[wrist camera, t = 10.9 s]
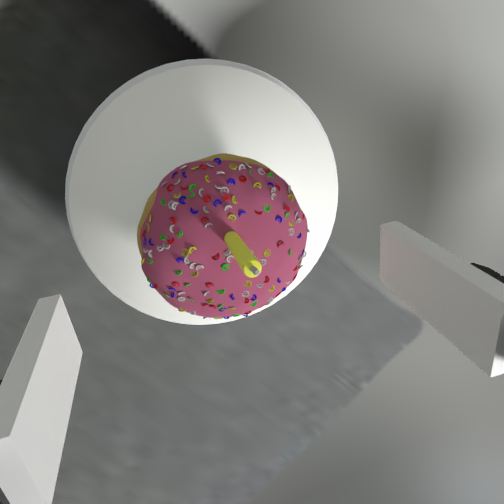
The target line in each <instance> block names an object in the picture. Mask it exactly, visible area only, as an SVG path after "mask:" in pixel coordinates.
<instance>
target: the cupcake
mask: <svg viewBox="0 0 504 504" xmlns="http://www.w3.org/2000/svg"><path fill="white" fill-rule="evenodd" d="M307 232H310V230H309V229H308V225H307V219H306V216H305V214H304V213H303V211H302V210H301V208H300V206H299V204H298V202H297V200H296V198H295V195H294V193H293V191H292V190H291V186H290V185H288V183H287V182H286V181H285V180H284V179H282V178H281V177H280V176H278V175H277V174H276V173H275V172H274V171H272V170H271V169H270V168H268V167H267V166H265V165H264V164H262V163H260V162H258V161H256V160H254V159H251V158H247V157H242V156H237V155H233V154H227V153H221V154H215V155H212V156H209V157H206V158H202V159H199V160H196V161H193V162H189V163H185V164H183V165H181V166H179V167H177V168H175V169H174V170H172V171H171V172H170V173H168V174H167V175H166V176H165V177H164V178H163V179H162V180H161V182H160V183H159V185H158V187H157V188H156V189H155V190H154V192H153V193H152V194H151V195H150V197H149V198H148V200H147V202H146V205H145V207H144V210H143V213H142V216H141V219H140V221H139V224H138V229H137V243H138V248H139V252H140V255H141V258H142V260H141V267H142V270H143V272H144V274H145V276H146V278H147V281H148V282H149V283H150V285H149V286H150V287H151V288H155V290H156V291H157V292H158V293H159V294H160V295H161V296H162V297H163V298H164V299H165V300H166V301H167V302H168V303H169V304H170V305H172V306H173V307H175V308H177V309H178V311H181V312H188V313H190V314H191V315H197V316H202V317H204V318H207V317H208V318H214V319H219V318H220V319H222V318H224V319H229V317H232V316H233V317H237V316H240V315H243V314H244V315H243V316H245V317H247V316H248V314H250V313H251V312H252V311H254V310H256V309H258V308H261V307H263V306H264V305H265V306H266V305H269V304H270V302H272V301H273V300H274V299H275V298H276V297H277V296H278V295H280V294H281V293H282V292H283V291H285V290H286V288H287V287H288V286H289V285H290V284H291V283H292V282H293V281H294V280H295V278H296V276H297V274H298V271H299V269H300V268H301V267H302V266H303V265H301V262H302V259H303V258H304V257H305V256H306V254H307V253H306V251H305V247H306V241H307ZM304 253H305V255H304ZM300 265H301V266H300ZM151 285H152V286H153V287H152V286H151ZM226 317H227V318H226ZM204 318H203V319H204Z"/></svg>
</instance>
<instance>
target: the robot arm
mask: <svg viewBox="0 0 504 504" xmlns="http://www.w3.org/2000/svg"><path fill="white" fill-rule="evenodd" d="M380 240H381V242H380V281H381V282H383V284H385V285H386V286H387V287H388V288H389V289H390V290H391V291H393V292H394V293H395V294H396V295H397V296H398V297H399V298H401V299H402V300H403V301H404V302H405V303H406V304H407V305H408V306H410V307H411V308H412V309H413V310H414V311H415V312H416V313H418V314H419V315H420V316H421V317H422V318H423V319H425V320H426V321H427V322H428V323H429V324H430V325H431V326H433V327H434V328H435V329H436V330H437V331H438V332H439V333H440V334H442V335H443V336H444V337H445V338H446V339H447V340H449V341H450V342H451V343H452V344H453V345H454V346H456V347H457V348H458V349H459V350H460V351H461V352H462V353H463V354H464V355H466V356H467V357H468V358H469V359H470V360H471V361H473V362H474V363H475V364H476V365H477V366H478V367H479V368H480V369H482V370H483V371H484V372H485V373H486V374H487V375H488V376H490V377H494V376H497V375H500V374H503V373H504V276H500V274H499V273H497V272H495V271H493V270H491V269H490V268H488V267H484V266H481V265H478V264H475V263H470V264H469V263H468V262H466V261H464V260H462V259H461V258H459V257H458V256H456V255H454V254H452V253H451V252H449V251H447V250H446V249H444V248H442V247H441V246H439V245H437V244H435V243H434V242H432V241H430V240H429V239H427V238H425V237H423V236H422V235H420V234H418V233H417V232H415V231H413V230H411V229H409V228H408V227H406V226H405V225H403V224H401V223H400V222H398V221H395V222H390V223H385V224H381V239H380ZM82 353H83V352H82V350H81V347H80V344H79V342H78V339H77V336H76V334H75V331H74V328H73V326H72V323H71V320H70V318H69V315H68V313H67V310H66V307H65V305H64V302H63V299H62V297H61V294H59V295H54V296H50V297H45V298H40V299H39V300H38V302H37V304H36V306H35V309H34V311H33V313H32V315H31V318H30V320H29V322H28V324H27V327H26V329H25V331H24V333H23V336H22V338H21V340H20V342H19V345H18V347H17V349H16V351H15V354H14V356H13V358H12V360H11V363H10V365H9V367H8V369H7V372H6V374H5V376H4V378H3V380H0V504H52V499H53V494H54V489H55V484H56V479H57V475H58V470H59V465H60V460H61V455H62V450H63V445H64V441H65V436H66V431H67V426H68V421H69V416H70V411H71V406H72V402H73V397H74V392H75V387H76V382H77V377H78V372H79V367H80V363H81V358H82Z"/></svg>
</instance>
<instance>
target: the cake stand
mask: <svg viewBox="0 0 504 504" xmlns="http://www.w3.org/2000/svg"><path fill="white" fill-rule="evenodd" d="M221 153H227V154H233V155H237V156H242V157H247V158H251V159H254V160H256V161H258V162H260V163H262V164H264V165H265V166H267V167H268V168H270V169H271V170H272V171H274V172H275V173H276V174H277V175H278V176H280V177H281V178H282V179H284V180H285V181H286V182H287V183H288V185H290V186H291V190H292V191H293V193H294V195H295V198H296V200H297V202H298V204H299V206H300V208H301V210H302V211H303V213H304V214H305V216H306V219H307V225H308V229H309V230H310V232H307V241H306V247H305V251H306V253H307V254H306V256H305V257H304V258H303V259H302V262H301V265H303V266H302V267H301V268H300V269H299V271H298V274H297V276H296V278H295V280H294V281H293V282H292V283H291V284H290V285H289V286H288V287H287V288H286V290H285V291H283V292H282V293H281V294H280V295H278V296H277V297H276V298H275V299H274V300H273V301H272V302H270V304H269V305H266V306H265V305H264V306H263V307H261V308H258V309H256V310H254V311H252V312H251V313H250V314H248V316H250V315H252V314H254V313H257V312H259V311H261V310H263V309H265V308H267V307H269V306H270V305H272V304H274V303H276V302H277V301H278V300H280V299H281V298H283V297H284V296H286V295H287V294H288V293H289V292H290V291H291V290H293V289H294V288H295V287H296V286H297V285H298V284H299V283H300V282H301V281H302V280H303V279H304V278H305V277H306V276H307V274H308V273H309V272H310V271H311V269H312V268H313V266H314V265H315V264H316V262H317V261H318V259H319V257H320V256H321V254H322V252H323V250H324V249H325V246H326V244H327V242H328V239H329V237H330V235H331V231H332V228H333V224H334V221H335V216H336V210H337V204H338V180H337V168H336V163H335V159H334V154H333V151H332V148H331V145H330V142H329V140H328V137H327V135H326V133H325V132H324V129H323V127H322V125H321V124H320V122H319V120H318V119H317V117H316V116H315V114H314V113H313V112H312V110H311V109H310V108H309V106H308V105H307V104H306V103H305V102H304V101H303V100H302V99H301V98H300V97H299V96H298V95H297V94H296V93H295V92H294V91H292V90H291V89H290V88H289V87H288V86H286V85H285V84H284V83H282V82H281V81H279V80H278V79H276V78H274V77H272V76H271V75H269V74H267V73H265V72H263V71H261V70H258V69H256V68H253V67H250V66H248V65H245V64H241V63H236V62H232V61H227V60H218V59H190V60H182V61H178V62H173V63H168V64H164V65H161V66H159V67H156V68H153V69H150V70H148V71H145V72H144V73H142V74H140V75H138V76H136V77H134V78H132V79H131V80H129V81H127V82H126V83H125V84H123V85H122V86H121V87H119V88H118V89H117V90H115V91H114V92H113V93H111V94H110V95H109V96H108V97H107V98H106V99H105V100H104V101H103V102H102V103H101V104H100V105H99V106H98V108H97V109H96V110H95V111H94V113H93V114H92V116H91V117H90V118H89V120H88V121H87V122H86V124H85V125H84V127H83V129H82V131H81V133H80V135H79V137H78V139H77V141H76V143H75V146H74V148H73V151H72V154H71V157H70V160H69V165H68V170H67V175H66V185H65V203H66V212H67V219H68V223H69V226H70V230H71V234H72V237H73V239H74V241H75V244H76V246H77V249H78V251H79V253H80V254H81V256H82V258H83V259H84V261H85V263H86V264H87V266H88V267H89V269H90V270H91V271H92V272H93V274H94V275H95V276H96V277H97V279H98V280H99V281H100V282H101V283H102V284H103V285H105V286H106V287H107V288H108V289H109V290H110V291H111V292H112V293H113V294H114V295H116V296H117V297H118V298H120V299H121V300H122V301H124V302H125V303H126V304H128V305H130V306H132V307H133V308H135V309H137V310H139V311H141V312H143V313H146V314H148V315H150V316H153V317H155V318H159V319H163V320H166V321H170V322H176V323H182V324H195V325H205V324H218V323H224V322H229V321H234V320H237V319H241V318H244V317H245V316H243V315H244V314H243V315H240V316H237V317H233V316H232V317H229V319H224V318H222V319H220V318H219V319H214V318H208V317H207V318H204V317H202V316H197V315H191V314H190V313H188V312H181V311H178V309H177V308H175V307H173V306H172V305H170V304H169V303H168V302H167V301H166V300H165V299H164V298H163V297H162V296H161V295H160V294H159V293H158V292H157V291H156V290H155V288H151V287H150V286H149V285H150V283H149V282H148V281H147V278H146V276H145V274H144V272H143V270H142V267H141V260H142V258H141V255H140V252H139V248H138V243H137V229H138V224H139V221H140V219H141V216H142V213H143V210H144V207H145V205H146V202H147V200H148V198H149V197H150V195H151V194H152V193H153V192H154V190H155V189H156V188H157V187H158V185H159V183H160V182H161V180H162V179H163V178H164V177H165V176H166V175H167V174H168V173H170V172H171V171H172V170H174V169H175V168H177V167H179V166H181V165H183V164H185V163H189V162H193V161H196V160H199V159H202V158H206V157H209V156H212V155H215V154H221ZM304 255H305V253H304ZM301 265H300V266H301ZM151 286H152V285H151ZM152 287H153V286H152ZM203 318H204V319H203ZM226 318H227V317H226Z"/></svg>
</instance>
